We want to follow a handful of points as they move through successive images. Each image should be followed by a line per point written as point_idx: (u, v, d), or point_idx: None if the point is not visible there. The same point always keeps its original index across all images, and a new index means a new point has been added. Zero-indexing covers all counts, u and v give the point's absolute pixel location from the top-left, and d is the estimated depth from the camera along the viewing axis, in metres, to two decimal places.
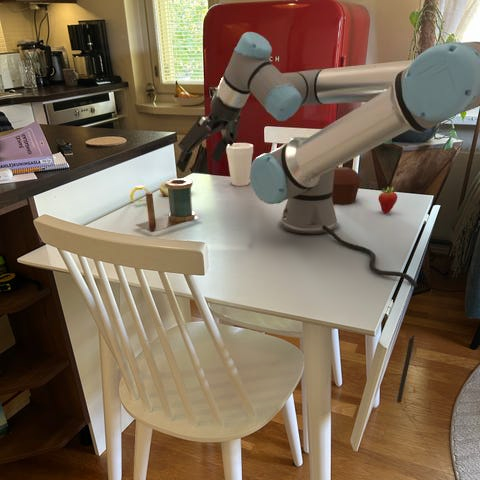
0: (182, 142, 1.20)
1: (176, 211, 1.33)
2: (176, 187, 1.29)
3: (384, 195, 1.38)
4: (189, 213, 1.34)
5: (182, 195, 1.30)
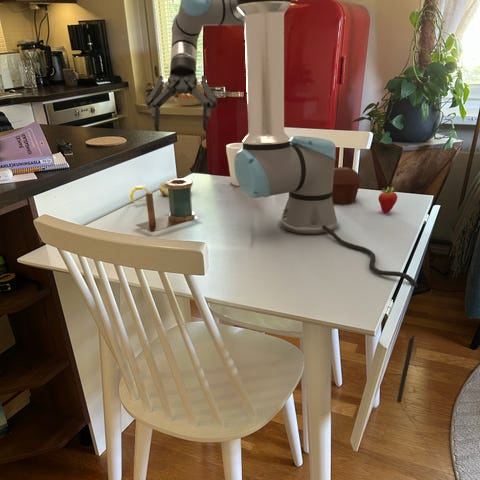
0: None
1: (176, 211, 1.33)
2: (176, 187, 1.29)
3: (384, 195, 1.38)
4: (189, 213, 1.34)
5: (182, 195, 1.30)
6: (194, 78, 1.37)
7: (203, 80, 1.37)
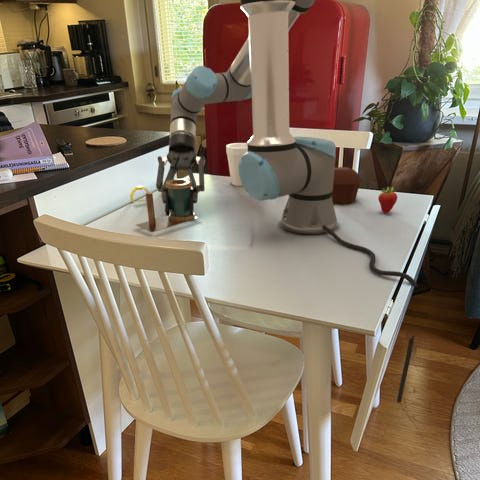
0: None
1: (176, 211, 1.33)
2: (176, 187, 1.29)
3: (384, 195, 1.38)
4: (189, 213, 1.34)
5: (182, 195, 1.30)
6: (193, 155, 1.35)
7: (200, 161, 1.35)
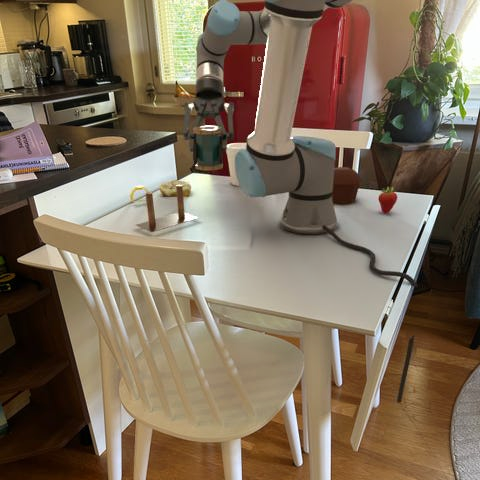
0: None
1: (204, 159, 1.25)
2: (205, 132, 1.21)
3: (384, 195, 1.38)
4: (218, 162, 1.27)
5: (211, 141, 1.23)
6: (222, 101, 1.28)
7: (229, 107, 1.27)
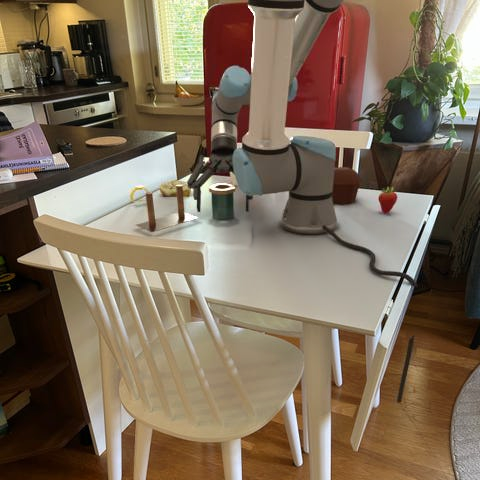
0: None
1: (219, 215, 1.33)
2: (220, 192, 1.29)
3: (384, 195, 1.38)
4: (232, 218, 1.35)
5: (226, 200, 1.31)
6: None
7: None
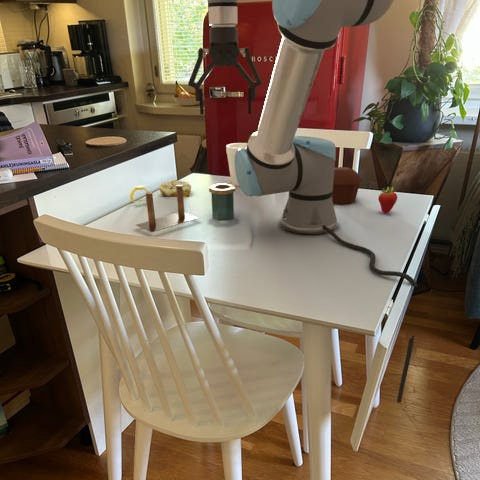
0: None
1: (219, 215, 1.33)
2: (220, 192, 1.29)
3: (384, 195, 1.38)
4: (232, 218, 1.35)
5: (226, 200, 1.31)
6: (237, 51, 1.28)
7: (246, 54, 1.28)
